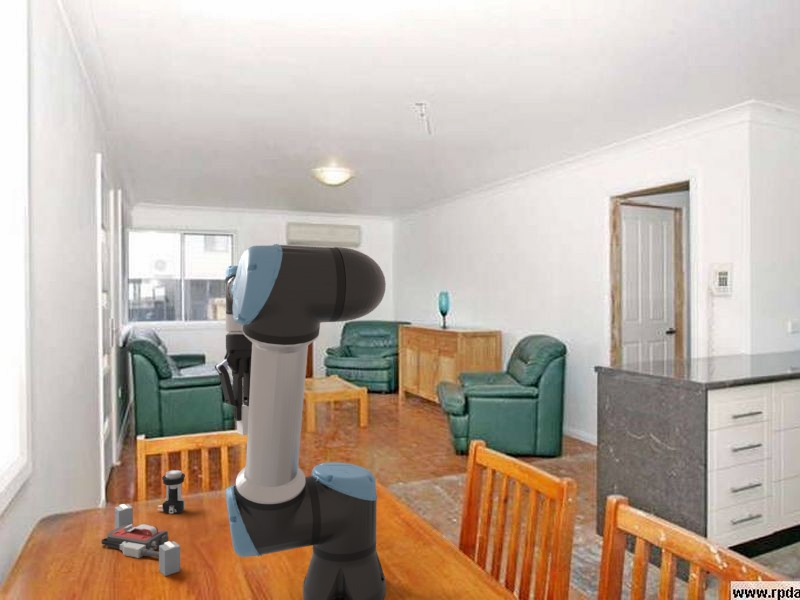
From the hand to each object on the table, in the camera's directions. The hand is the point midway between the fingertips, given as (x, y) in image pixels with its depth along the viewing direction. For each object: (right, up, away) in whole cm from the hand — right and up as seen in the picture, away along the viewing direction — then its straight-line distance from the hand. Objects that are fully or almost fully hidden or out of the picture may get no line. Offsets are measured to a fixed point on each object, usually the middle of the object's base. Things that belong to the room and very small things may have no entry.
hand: (243, 433), depth 130 cm
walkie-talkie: (-18, -23, -9) cm, 31 cm away
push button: (-21, -22, +11) cm, 33 cm away
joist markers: (-19, -23, -9) cm, 31 cm away
